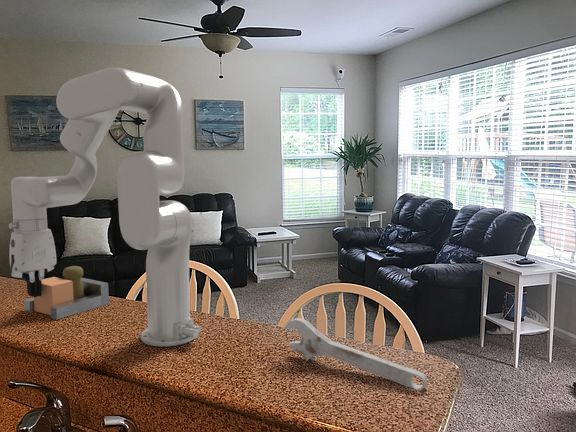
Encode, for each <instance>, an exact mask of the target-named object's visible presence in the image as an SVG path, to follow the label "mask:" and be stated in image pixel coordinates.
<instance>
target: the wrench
mask: <svg viewBox="0 0 576 432" xmlns="http://www.w3.org/2000/svg"><path fill="white" fill-rule="evenodd" d="M294 329H296V331H297V332H298V334H299V335H300V336H301V340H295V341H291V342H289V343H288V346H289V347H290V348H291V349H292V350H293V351H294V352H296V353H297V354H299V355H302V356H304V357H305V361H307V362H308V361H309V360H310V361H316V357H319V356H321V357H322V356H326V357H327V356H328V358H329V357H330V358H332V359H335V360H337V361H340V362H344V363H345V364H349V365H351V366H353V367H356V368H359V369H361V370H364V371H367V373H368V372H369V373H372V374H374V375H376V376H379V377H382V378H385V379H387V380H389V381H392V382H395V383H397V384H399V385H402V386H404V387H407V388H409V389H414V390H417V391H423V390H424V388H425V386H426V385H427V384H428V379H427V376H426V375H425V374H424V373H423V372H421V371H420V370H416V369H413V368H410V367H407V366H405V365H403V364H398V363H396V362H394V361H390V360H387V359H385V358H382V357H379V356H376V355H373V354H371V353H368V352H364V351H363V350H362V351H361V350H359V349H356V348H353V347H350V346H348V345H345V344H343V343H342V344H341V343H339V342H336V341H334V340H332V339H330V338H329V337H328V336H326V335H324V334H323V333H322V332H321V331H319V330H318V329H317V328H316V327H315V326H314V325H312V324H311V323H310V322H309V321H308V320H307V319H305V318H301V317H296V318H292V319H291V320H290V321H288V322H286V324H285V325H284V330H294ZM414 376H416V377H419V379H421V382H422V384H416V382H414V380H413V377H414Z"/></svg>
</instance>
